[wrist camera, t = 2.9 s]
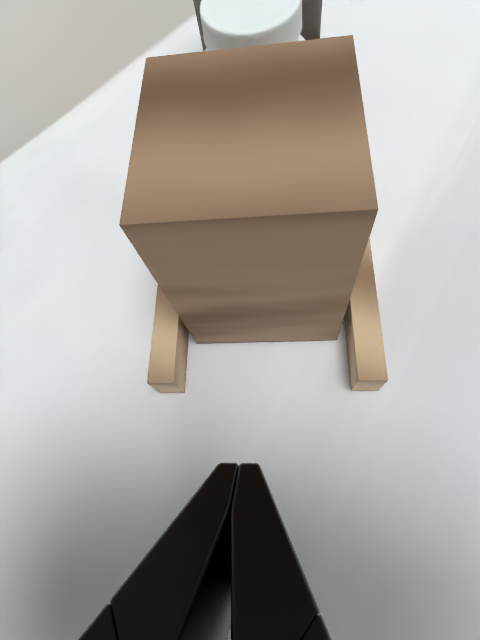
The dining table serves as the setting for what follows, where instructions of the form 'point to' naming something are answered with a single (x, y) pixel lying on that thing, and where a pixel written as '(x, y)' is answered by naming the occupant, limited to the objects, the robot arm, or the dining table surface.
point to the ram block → (253, 188)
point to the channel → (359, 314)
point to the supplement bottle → (250, 22)
